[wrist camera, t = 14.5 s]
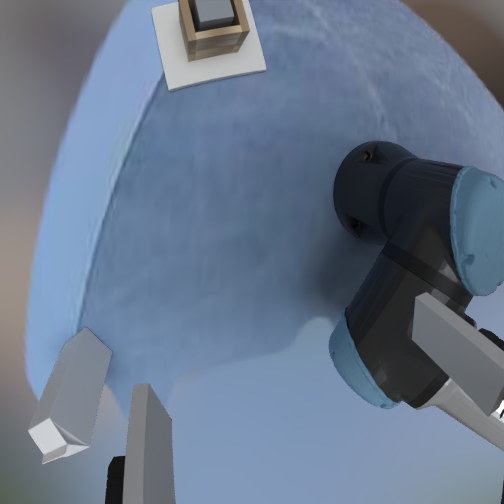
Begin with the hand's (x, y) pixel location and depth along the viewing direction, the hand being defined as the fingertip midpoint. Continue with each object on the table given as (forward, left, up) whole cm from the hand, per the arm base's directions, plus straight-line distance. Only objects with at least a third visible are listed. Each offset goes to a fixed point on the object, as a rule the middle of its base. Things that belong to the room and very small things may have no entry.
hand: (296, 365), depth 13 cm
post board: (+5, -23, -29) cm, 37 cm away
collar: (+5, -23, -27) cm, 36 cm away
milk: (+20, +22, -29) cm, 41 cm away
